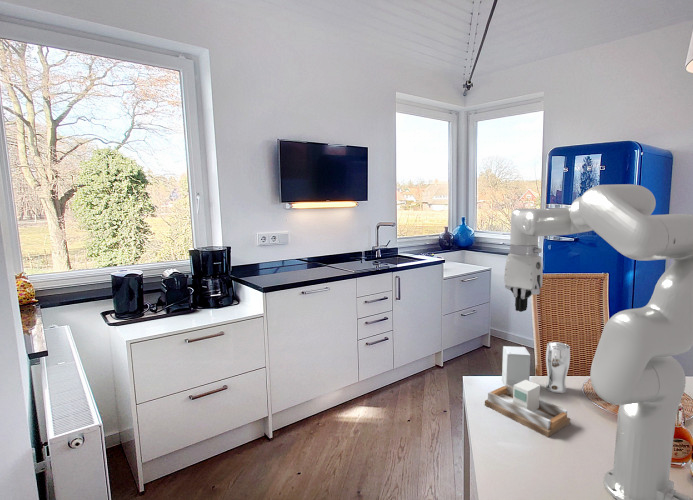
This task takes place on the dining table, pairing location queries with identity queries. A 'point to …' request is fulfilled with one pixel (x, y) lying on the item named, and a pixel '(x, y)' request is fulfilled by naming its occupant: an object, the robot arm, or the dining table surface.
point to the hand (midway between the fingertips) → (520, 310)
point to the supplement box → (515, 365)
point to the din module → (526, 395)
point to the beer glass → (557, 366)
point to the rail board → (528, 412)
